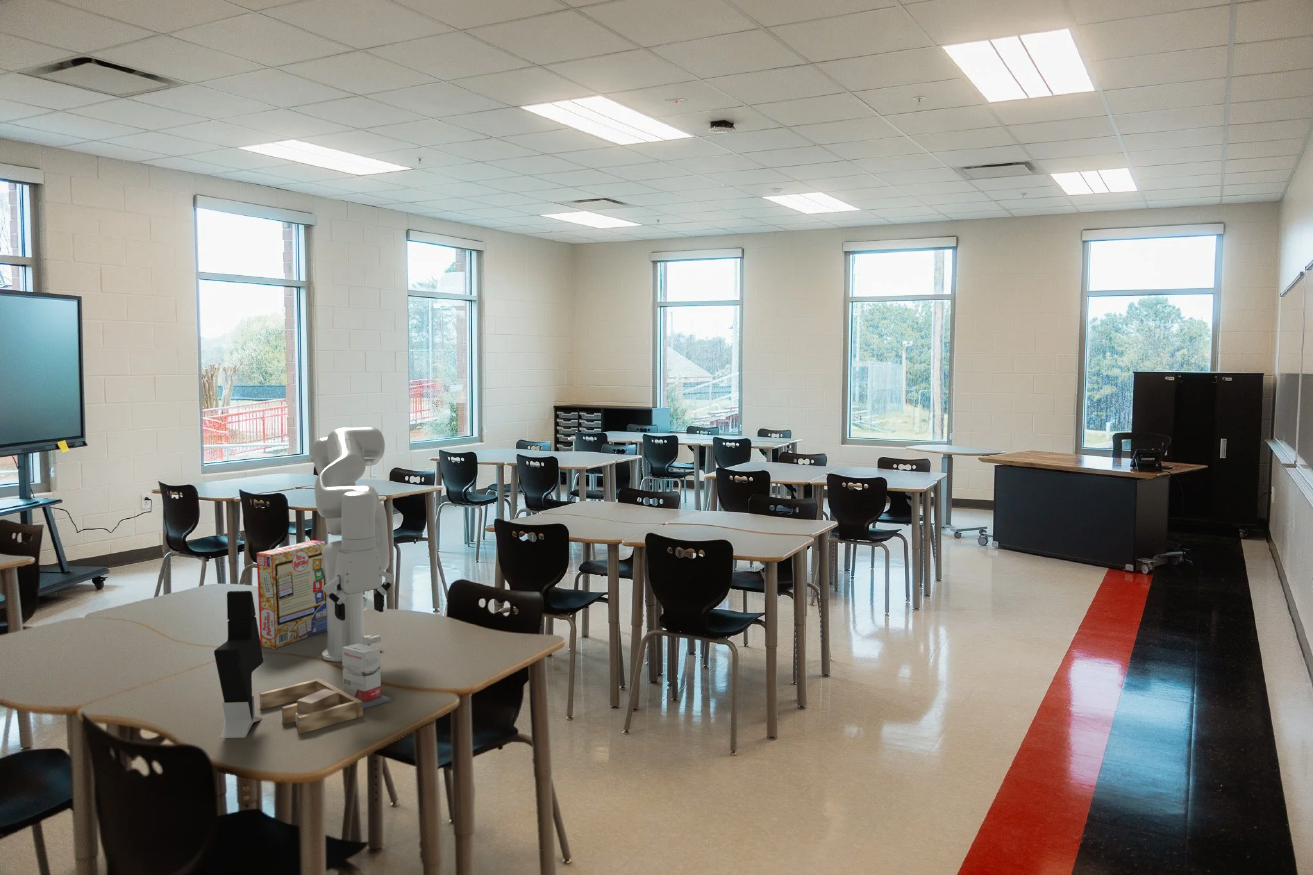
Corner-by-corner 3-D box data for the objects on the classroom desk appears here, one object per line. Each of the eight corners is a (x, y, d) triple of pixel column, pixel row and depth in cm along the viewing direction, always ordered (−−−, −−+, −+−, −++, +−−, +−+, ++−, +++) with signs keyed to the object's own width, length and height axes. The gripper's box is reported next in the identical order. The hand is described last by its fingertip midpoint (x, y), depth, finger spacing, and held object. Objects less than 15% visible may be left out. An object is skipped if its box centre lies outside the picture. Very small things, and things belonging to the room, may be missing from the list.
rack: (318, 692, 221) (318, 678, 221) (362, 716, 206) (362, 701, 205) (259, 707, 211) (258, 692, 211) (301, 734, 196) (300, 718, 195)
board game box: (315, 628, 276) (312, 539, 274) (330, 630, 273) (328, 541, 271) (258, 646, 257) (255, 551, 255) (274, 649, 255) (271, 553, 253)
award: (242, 714, 207) (238, 584, 204) (266, 714, 207) (262, 583, 205) (215, 742, 192) (210, 601, 189) (241, 741, 192) (237, 600, 190)
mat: (365, 688, 224) (365, 685, 224) (390, 700, 215) (390, 698, 215) (334, 696, 218) (334, 694, 218) (358, 709, 210) (358, 707, 210)
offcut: (324, 701, 208) (324, 688, 208) (338, 704, 206) (338, 691, 206) (297, 713, 201) (296, 700, 200) (311, 716, 199) (311, 703, 199)
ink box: (382, 696, 216) (381, 648, 216) (365, 702, 212) (364, 653, 212) (359, 689, 221) (358, 641, 220) (342, 695, 217) (340, 646, 216)
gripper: (384, 536, 223) (385, 604, 225) (315, 546, 211) (317, 619, 212) (400, 541, 218) (401, 611, 219) (330, 552, 205) (332, 626, 207)
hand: (360, 615), depth 216 cm, fingers open, 9 cm apart
